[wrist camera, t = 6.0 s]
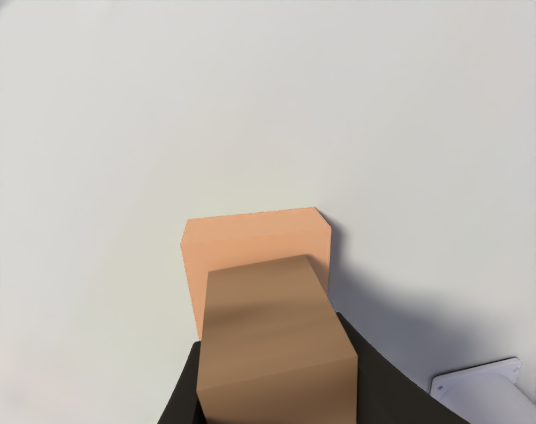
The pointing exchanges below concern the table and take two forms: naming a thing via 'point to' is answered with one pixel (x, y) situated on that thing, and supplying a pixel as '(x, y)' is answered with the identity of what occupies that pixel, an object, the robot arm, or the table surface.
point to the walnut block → (274, 348)
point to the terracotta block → (252, 246)
